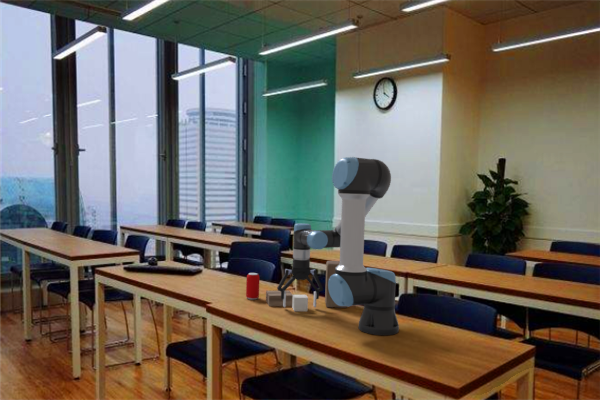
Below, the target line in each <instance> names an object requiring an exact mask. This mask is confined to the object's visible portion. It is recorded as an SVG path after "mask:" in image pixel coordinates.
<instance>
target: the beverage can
mask: <svg viewBox="0 0 600 400" xmlns="http://www.w3.org/2000/svg"><path fill="white" fill-rule="evenodd" d="M245 286H246V287H245V291H246V292H245V297H246V299H248V300H252V301H253V300H258V298H260V275H259V273H256V272H249V273H248V274H247V275H246V285H245Z"/></svg>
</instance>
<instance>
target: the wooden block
mask: <svg viewBox="0 0 600 400" xmlns="http://www.w3.org/2000/svg"><path fill="white" fill-rule="evenodd" d="M339 263H340V260H327V261H326V264H325V292H324V293H325V294H324V295H325V296H324V303H325V306H326V308H333V307H335V309H336V308H338V309H339V308H341V309H347V308H348V306H339V305H337V304H336V303H335V302H334V301H333V300H332V298H331V296H330V293H329V289H328V281H329V279H330V276H331V275H333V274H335V268H336V267H337V266H338V265H339Z"/></svg>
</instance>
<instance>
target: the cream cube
mask: <svg viewBox="0 0 600 400" xmlns="http://www.w3.org/2000/svg"><path fill="white" fill-rule="evenodd" d="M292 295H293V298H292V306H291V308H293V309H292V310H294V311H293V312H309V311H308V309H309V308H308V307H309V296H307V294H292Z"/></svg>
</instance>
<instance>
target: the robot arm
mask: <svg viewBox="0 0 600 400" xmlns="http://www.w3.org/2000/svg"><path fill="white" fill-rule="evenodd" d="M331 175H332V176H331V179H332V180H331V182H332V183H333V187H334V188H336V190H338V191H337V194H338V196H339V197H340V198H341V214H340V215H341V216H340V217H341V219H340V221H339V222H338V224H337V225H336V227H335V228H334V229H326V230H325V229H324V230H319V229H318V230H315V229H312V226H311V223H310V224H309V223H303V222H302V223H301V222H299V223H295V224H294V225H293V226H294V227H293V242H292V244H293V245H292V246H293V249H292V251H293V252H292V258H293V259H292V267H291V269H288V268H285V269H284V274H283V276H282V278H281V280H280V281H279V283H278V285H277V287H276V288H277V291H281V299H283V306H282V307H283V308H286V307H287V306H286V291H285V290H288V288H289V287H290V286H291V284H292V283H293V282H295V280H297V281H300V280H301V281H306V280H307V281H308V283H309V284H310V285H311V287H312V288H313V289H314V290H315V291H313V304H312V305H313V307H314V308H316V307H317V300H319V299H320V292H322V291H324V288H323V285H322V283H321V281H320V279H319V276H318V274H317V272H318V271H317V270H316V269H315V268H314V269H310V266H311V265H310V264H311V260H310V258H311V249H313V250H323V249H329V248H339V249H340V250H339V261H340V263H339V265H338V266H337V267H336V268H335V274H333V275H331V276H330V279H329V281H328V289H329V293H330V296H331V298H332V300H333V301H334V302H335V303H336V304H337V305H339V306H347V308H348V307H352V306H361V305H363V309H362V313H361V315H360V319H359V321H358V329H359V330H360V331H361V332H363V333H366V334H370V335H376V336H391V335H392V336H393V335H395V334H398V333H399V331H400V330H399V329H400V326H399V325H400V324H399V322H398V318H397V315H396V289H397V288H396V287H397V286H396V285H397V282H396V278H397V277H396V274H395V272H393V271H391V270H387V269H382V268H375V267H365V265H364V250H365V249H364V248H365V226H366V223H365V222H366V221H365V220H366V217H367V215H368V214H369V213H370V211H371V210H372V209H373V207H374V206H375V205H376V203H377V201H379V199H383V198H384V196H385V195H386V194H387V192H388V191H389V188H390V186H391V181H392V174H391V170H390V169H389V166H388V165H387V164H386V163H385V162H383V161H381V160H380V159H376V158H363V157H354V156H352V157H351V156H350V157H343V158H341V159H339V160H338V161H337V163H336V164H335V166H334V168H333V170H332V174H331ZM291 274H292V276H291V277H290V279H288V280H287V278H288V276H289V275H291ZM310 274H311V275H312V276H313V277H314V280H315V281H316V283H317V286H318V287H317V286H316V285H315V283H314V282H313V281H312V280H311V278H310ZM286 280H287V282H286ZM285 282H286V283H285Z"/></svg>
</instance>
